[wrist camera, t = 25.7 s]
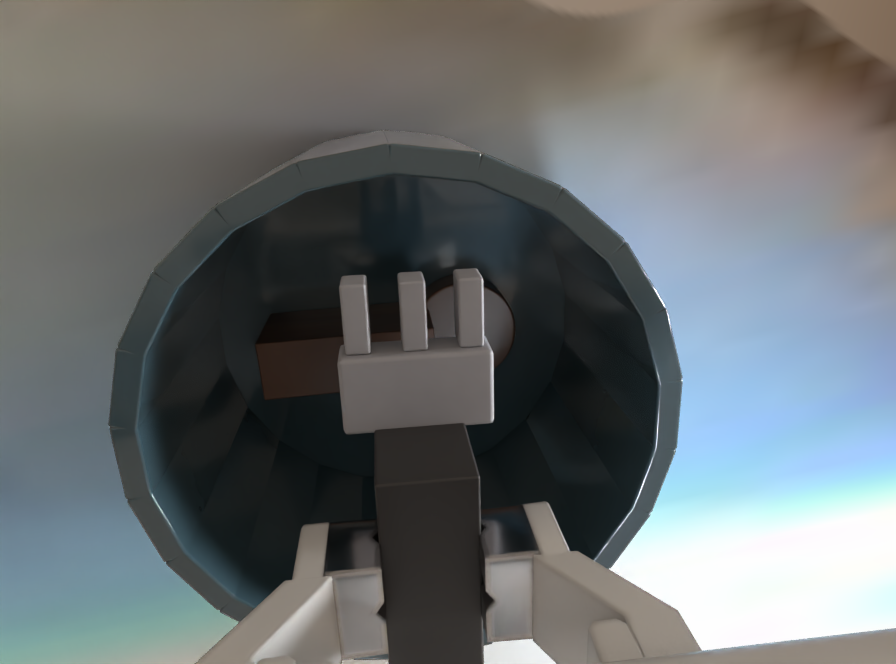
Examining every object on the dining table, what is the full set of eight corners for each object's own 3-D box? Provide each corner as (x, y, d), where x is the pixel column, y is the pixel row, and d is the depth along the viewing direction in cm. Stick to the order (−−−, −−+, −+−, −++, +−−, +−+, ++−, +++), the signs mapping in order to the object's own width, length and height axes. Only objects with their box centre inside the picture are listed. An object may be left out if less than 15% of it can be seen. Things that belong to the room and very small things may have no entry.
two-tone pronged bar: (489, 595, 16) (514, 703, 13) (364, 608, 15) (362, 721, 13) (485, 267, 13) (515, 311, 10) (332, 275, 13) (320, 324, 10)
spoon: (281, 385, 22) (268, 425, 20) (266, 289, 21) (249, 317, 18) (510, 362, 23) (529, 398, 20) (507, 269, 22) (527, 292, 19)
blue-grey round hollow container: (237, 498, 24) (170, 690, 16) (175, 138, 20) (43, 160, 12) (571, 467, 25) (662, 632, 17) (580, 120, 21) (705, 128, 13)
